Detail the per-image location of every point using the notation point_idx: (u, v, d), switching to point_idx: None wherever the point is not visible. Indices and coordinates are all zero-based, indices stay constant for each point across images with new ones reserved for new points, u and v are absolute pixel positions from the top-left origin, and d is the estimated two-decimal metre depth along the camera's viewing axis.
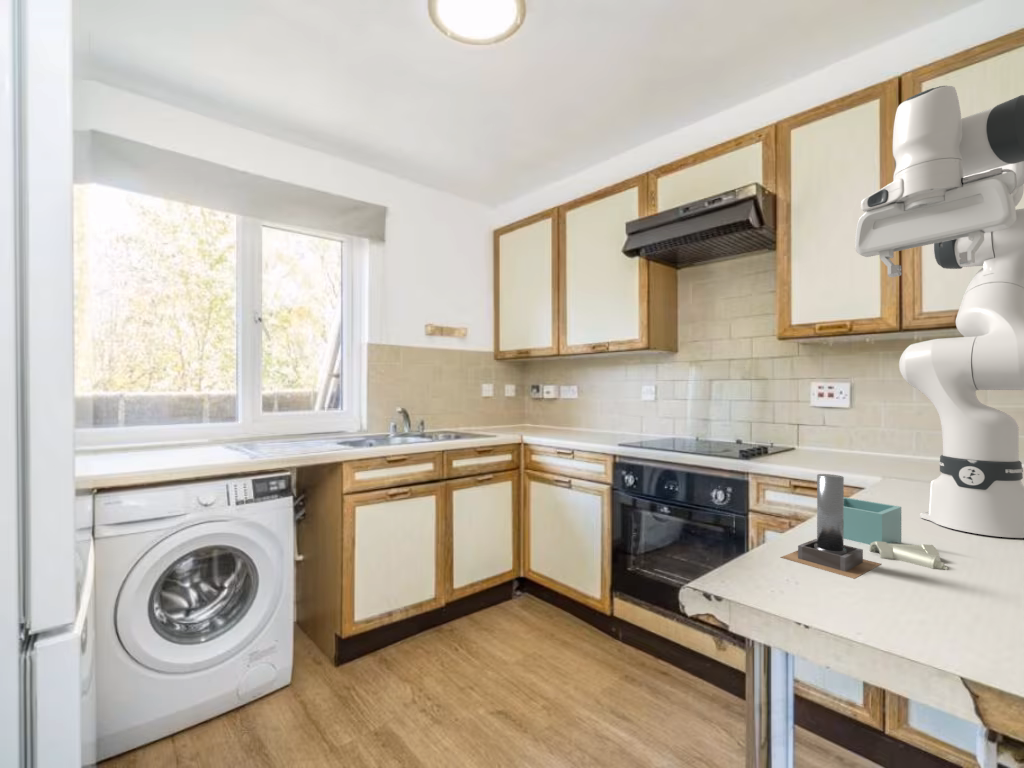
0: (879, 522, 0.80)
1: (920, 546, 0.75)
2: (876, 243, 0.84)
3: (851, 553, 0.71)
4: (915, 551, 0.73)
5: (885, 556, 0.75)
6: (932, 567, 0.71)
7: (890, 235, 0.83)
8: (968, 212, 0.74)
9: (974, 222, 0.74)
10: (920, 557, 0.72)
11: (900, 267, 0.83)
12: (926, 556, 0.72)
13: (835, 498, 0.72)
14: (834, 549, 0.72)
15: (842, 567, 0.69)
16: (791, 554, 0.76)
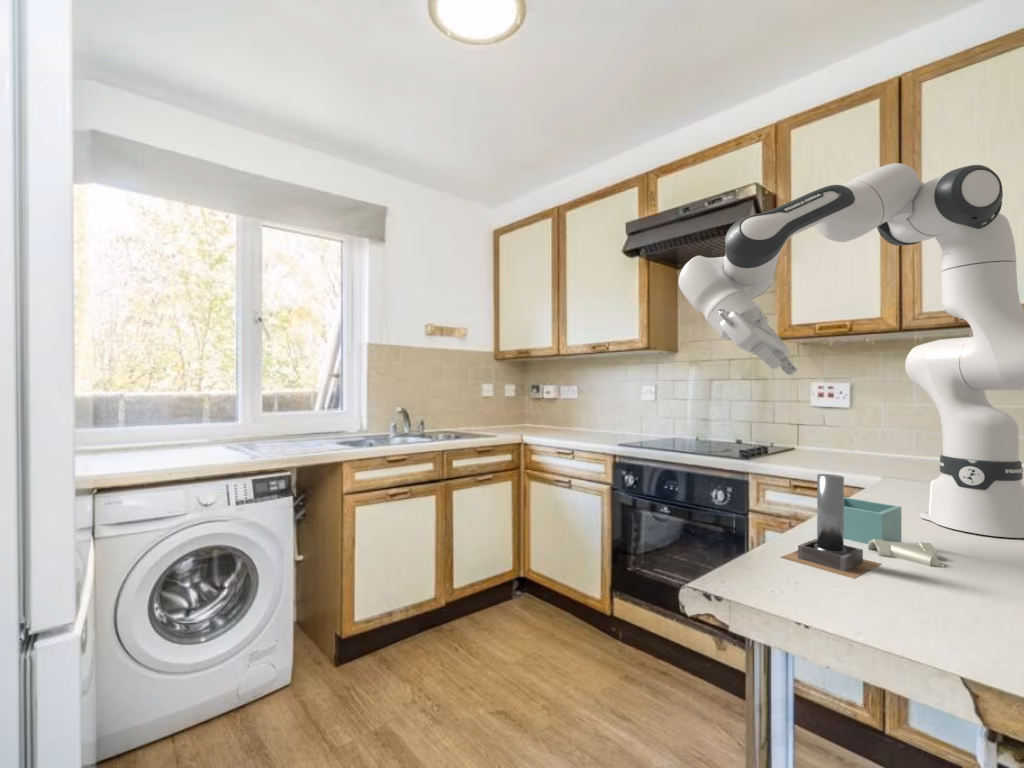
0: (879, 522, 0.80)
1: (918, 544, 0.76)
2: None
3: (851, 553, 0.71)
4: (912, 549, 0.74)
5: (883, 554, 0.76)
6: (929, 565, 0.72)
7: None
8: None
9: None
10: (917, 555, 0.73)
11: (788, 365, 0.91)
12: (923, 554, 0.73)
13: (836, 498, 0.72)
14: (834, 549, 0.72)
15: (842, 567, 0.69)
16: (791, 554, 0.76)
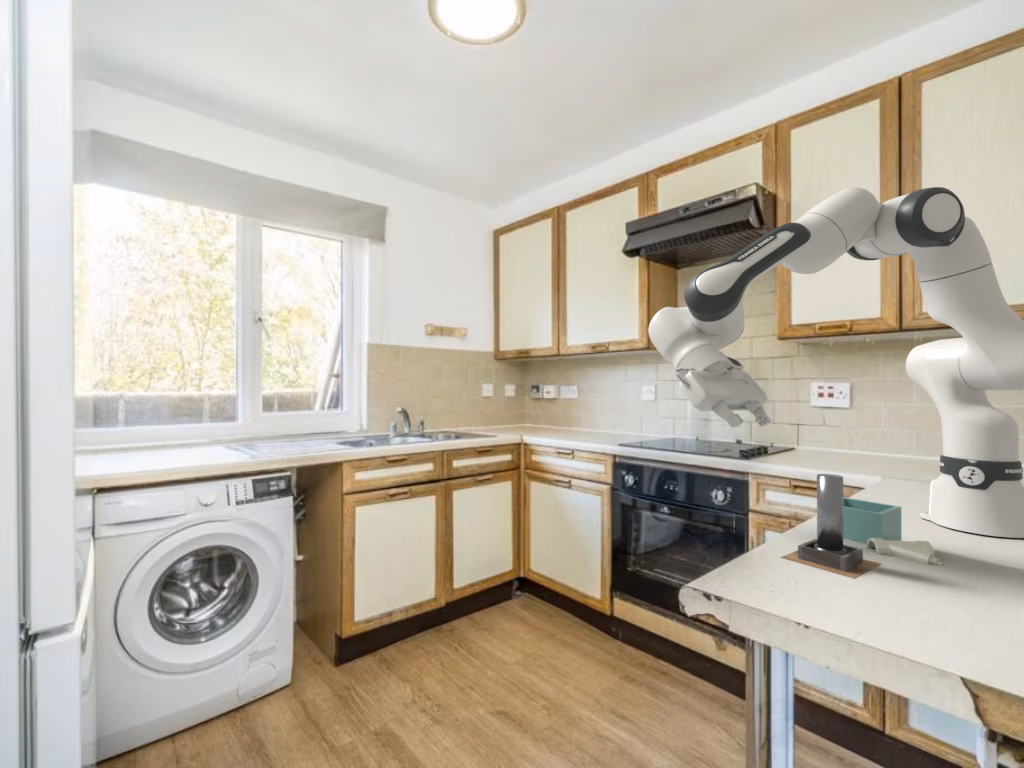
0: (879, 522, 0.80)
1: (916, 542, 0.77)
2: None
3: (851, 553, 0.71)
4: (910, 547, 0.75)
5: (881, 552, 0.77)
6: (927, 563, 0.72)
7: None
8: None
9: None
10: (915, 553, 0.74)
11: (761, 416, 0.88)
12: (921, 552, 0.74)
13: (835, 498, 0.72)
14: (834, 549, 0.72)
15: (842, 567, 0.69)
16: (791, 554, 0.76)
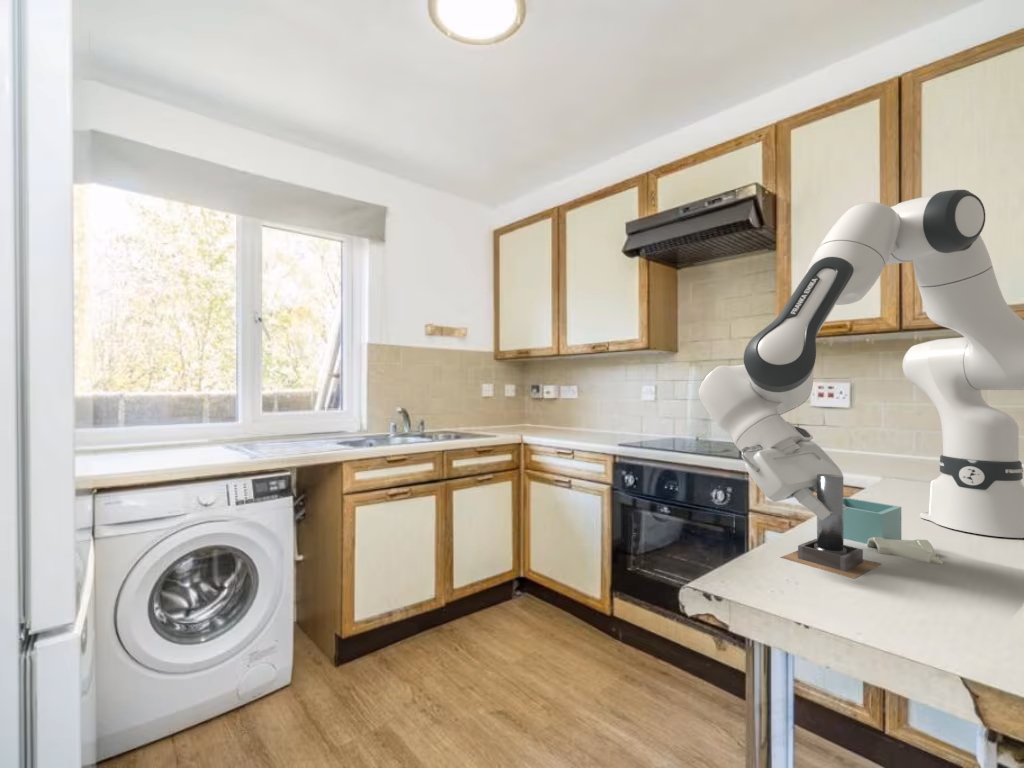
0: (879, 522, 0.80)
1: (915, 541, 0.77)
2: None
3: (851, 553, 0.71)
4: (911, 546, 0.76)
5: (883, 551, 0.77)
6: (928, 561, 0.73)
7: None
8: None
9: None
10: (917, 552, 0.74)
11: None
12: (922, 551, 0.74)
13: (835, 498, 0.72)
14: (834, 549, 0.72)
15: (842, 567, 0.69)
16: (791, 554, 0.76)
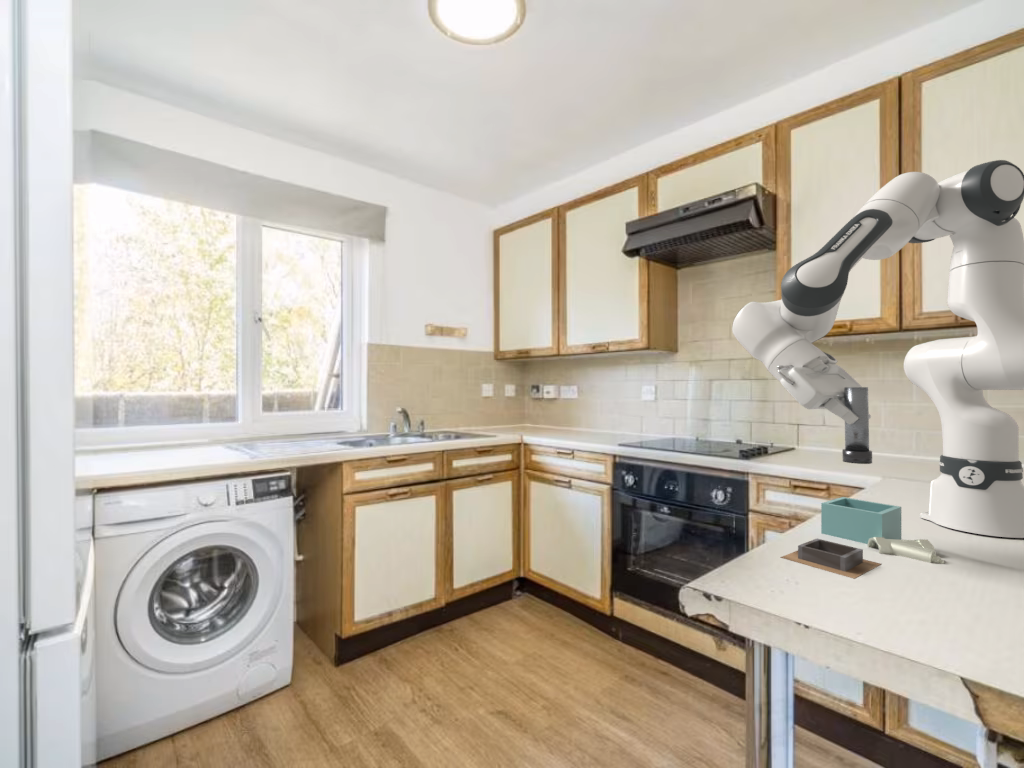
0: (879, 522, 0.80)
1: (916, 541, 0.77)
2: None
3: (851, 553, 0.71)
4: (912, 546, 0.76)
5: (884, 551, 0.77)
6: (930, 561, 0.73)
7: None
8: None
9: None
10: (918, 552, 0.74)
11: None
12: (923, 551, 0.74)
13: (861, 405, 0.81)
14: (861, 450, 0.81)
15: (842, 567, 0.69)
16: (791, 554, 0.76)
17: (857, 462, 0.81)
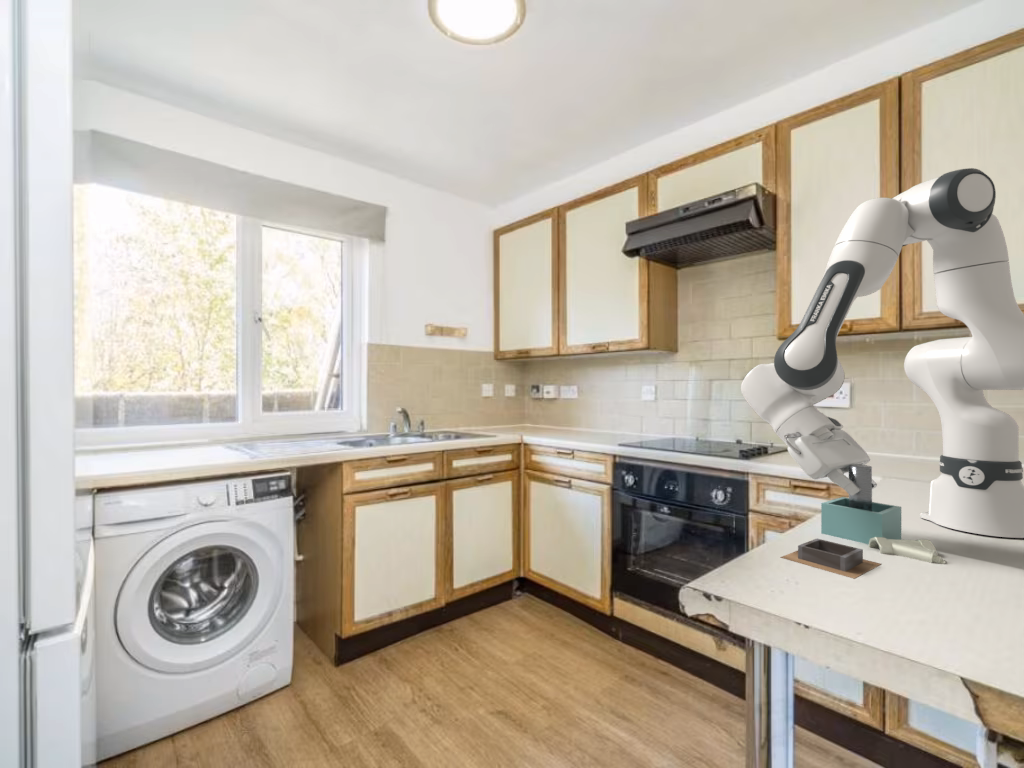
0: (879, 522, 0.80)
1: (917, 541, 0.77)
2: None
3: (851, 553, 0.71)
4: (914, 546, 0.76)
5: (885, 551, 0.77)
6: (931, 561, 0.73)
7: None
8: None
9: None
10: (919, 552, 0.74)
11: None
12: (924, 551, 0.74)
13: (865, 484, 0.85)
14: None
15: (842, 567, 0.69)
16: (791, 554, 0.76)
17: None
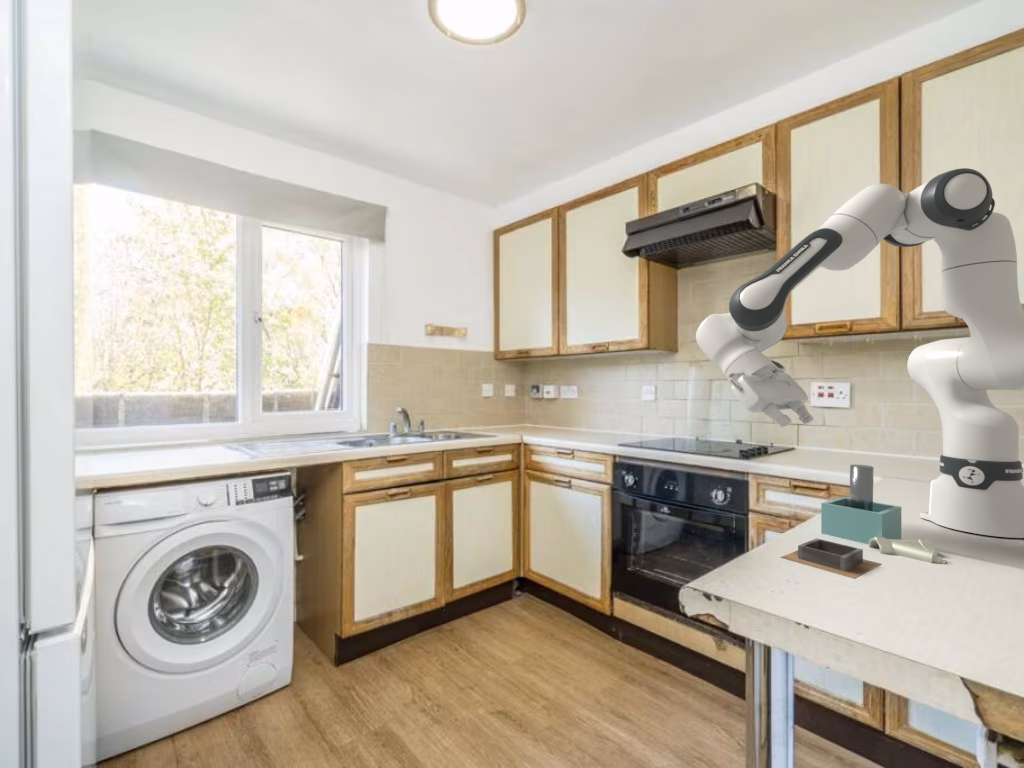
0: (879, 522, 0.80)
1: (917, 541, 0.77)
2: None
3: (851, 553, 0.71)
4: (913, 546, 0.75)
5: (885, 551, 0.77)
6: (931, 561, 0.73)
7: None
8: None
9: None
10: (919, 552, 0.74)
11: (804, 415, 0.98)
12: (924, 551, 0.74)
13: (866, 485, 0.85)
14: None
15: (842, 567, 0.69)
16: (791, 554, 0.76)
17: None
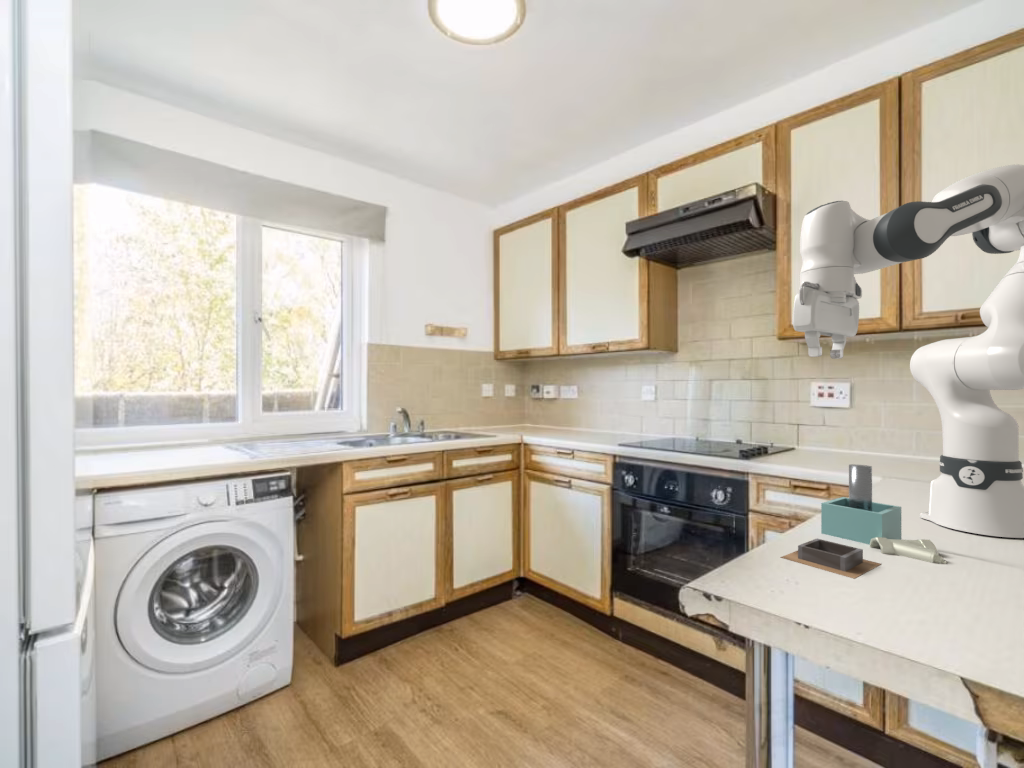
0: (879, 522, 0.80)
1: (918, 541, 0.77)
2: None
3: (851, 553, 0.71)
4: (915, 546, 0.75)
5: (886, 551, 0.77)
6: (932, 561, 0.73)
7: None
8: None
9: None
10: (920, 552, 0.74)
11: (837, 351, 0.95)
12: (926, 551, 0.74)
13: (865, 484, 0.85)
14: None
15: (842, 567, 0.69)
16: (791, 554, 0.76)
17: None
